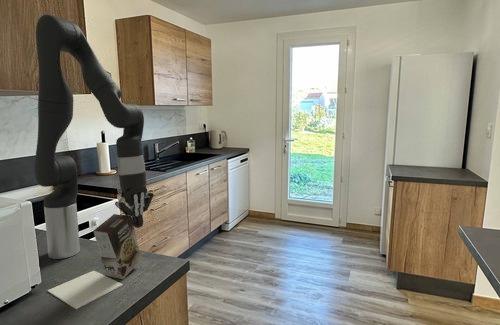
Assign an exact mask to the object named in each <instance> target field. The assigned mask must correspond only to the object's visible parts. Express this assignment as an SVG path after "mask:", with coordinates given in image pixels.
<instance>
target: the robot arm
mask: <svg viewBox="0 0 500 325" xmlns="http://www.w3.org/2000/svg"><path fill="white" fill-rule="evenodd" d="M35 40H36V41H35V42H36V43H35V44H36V51H37V63H38V65H37V66H38V97H37V101H38V102H37V119H38V120H37V122H38V123H37V141H36V142H37V143H36V149H35V150H36V151H35V155H34V156H35V157H34V158H35V159H34V167H33V168H34V170H33V171H34V172H33V173H34V177H35V178H34V179H35V181H36V182H37V184H38V185H39V186H40V187H42V188H43V187H44V188H45V187H46V188H48V187H54V186H56V188H55V189H54V190H53V191H52V192H50V193H49V194H48V195H46V196H44V198H43V210H44V211H43V212H44V220H45V222H44V223H45V233H46V243H47V245H46V246H47V253H48V254H47V256H48V258H50V259H51V260H52V259H53V260H58V259H59V260H61V259H66V258H70V257H73V256H75V255H78V253H79V252H80V250H81V248H80V235H79V234H80V233H79V222H78V221H79V220H78V208H77V197H78V192H79V191H78V190H79V189H78V180H79V179H78V178H79V177H78V167H77V163H76V160H74V158H73V157H71V156H70V155H58V156H57V155H56V150H57V146H58V143H59V142H60V140H61V138H62V136H63V134H65V132H66V130H68V128H69V126H70V124H71V122H72V120H73V117H74V95H73V92H72V90H71V87H70V85H69V83H68V81H67V80H66V78H65V75H64V74H63V71H62V67H61V66H62V64H61V52H63V53H69V55H71V56H72V57H73V58H74V59H75V60H76V61H77V63H78V64H79V66H80V68H81V73H82V79H83V82H84V83H85V85H86V87H87V88H88V90H89V91H90V92H91V93H92V95H93V96H94V97H95V99H96V100H97V101H98V103H99V106H100V108H101V110H102V112H103V115H104V118H106V121H107V122H108V123H109V124H110V125H111V126H113V127H114V128H116V129H123V133H122V135H121V136H120V137H118V138H117V139H116V144H115V145H116V153H117V170H118V178H119V180H118V181H119V188H120V189H121V193H120V198H119V200H118V201H115V202H114V205H115V206H116V208H117V209H119V210H120V211H121V212H122V213H123V215H128V216H131V217H132V221H133V226H134V229H135V228H137V229H139V228H142V227H143V224H144V217H143V214H144V213H145V212H147V211H148V209H149V207H150V205H151V203H152V200H153V198H154V193H153V192H149V191H148V189H147V187H146V186H147V183H148V182H147V174H146V172H147V171H146V164H145V159H144V155H143V154H144V153H143V145H142V140H143V133H144V126H145V116H144V112H143V110H142V108H141V107H140V106H139V105H138V104H135V103H123V102H122V101H121V98H122V95H123V94H122V91H121V89H120V87H119V86H118V84H117V83H116V82H115V80H114V79H113V78H112V77H111V76H110V74H109V73H108V72H107V71H106V70H105V68H104V67H103V65H102V64H101V62H100V60H99V59H98V57H97V55H96V54H95V51H94V50H93V49H92V47H91V45H90V43H89V42H88V40H87V38H86V35H85V34H84V32H83V31H82V29H81V28H80V27H79V26H78V24H76V23H74V22H73V21H70V20H67V19H65V18H64V19H63V18H61V17H58V16H55V15H52V14H43V15H41V16H40V17H39V19H38V20H37V23H36V25H35Z"/></svg>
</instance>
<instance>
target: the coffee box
mask: <svg viewBox="0 0 500 325" xmlns="http://www.w3.org/2000/svg"><path fill="white" fill-rule="evenodd" d="M93 235H94V238H95V241H96V245H97V248H98V251H99V255H100V256H99V257H100V259H101V262H102V265H103V269H104V272H105V276H107V277H109V278H114V279H115V278H116V279H119V280H124V279H125V278H126V277H127V276H128V275H129V273H131V272H132V270H133V269H135V267H136V266H137V265H138V264H139V262H140V261H141V260H142V255H141V252H140V248H139V243H138V238H137V235H136V230H135V227H134V226H133V221H132V216H129V215H125V214H118V213H117V214H116V213H113V214H112V215H111V216H110V217H108V218H107V219H106V220H105V221H104V222H102V223H101V224H100V225H98V226H97V227H96V228H94V229H93Z"/></svg>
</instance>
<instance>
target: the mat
mask: <svg viewBox="0 0 500 325" xmlns="http://www.w3.org/2000/svg"><path fill="white" fill-rule="evenodd" d="M123 286H124V284H123V283H121V282H118V281H117V280H115V279H112V277H110V276H106V275H105V274H102V273H100V272H99V271H96V270H92V271H90V272H89V271H88V272H87V273H85V274H82V275H80V276H77V277H75V278H73V279H71V280H69V281H65V282H64V283H61V284H59V285H57V286H54V287H53V288H49V289H47V292H48V293H50V294H51V295H53V296H54V297H55V298H58V299H59V300H61V301H62V302H64V303H65V304H67V305H68V306H70V307H72V308H73V309H75V310H78V309H79V308H82V307H83V306H86V305H87V304H89V303H92V302H93V301H95V300H97V299H99V298H101V297H104V296H105V295H108V294H109V293H111V292H113V291H115V290H116V289H118V288H121V287H123Z"/></svg>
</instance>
